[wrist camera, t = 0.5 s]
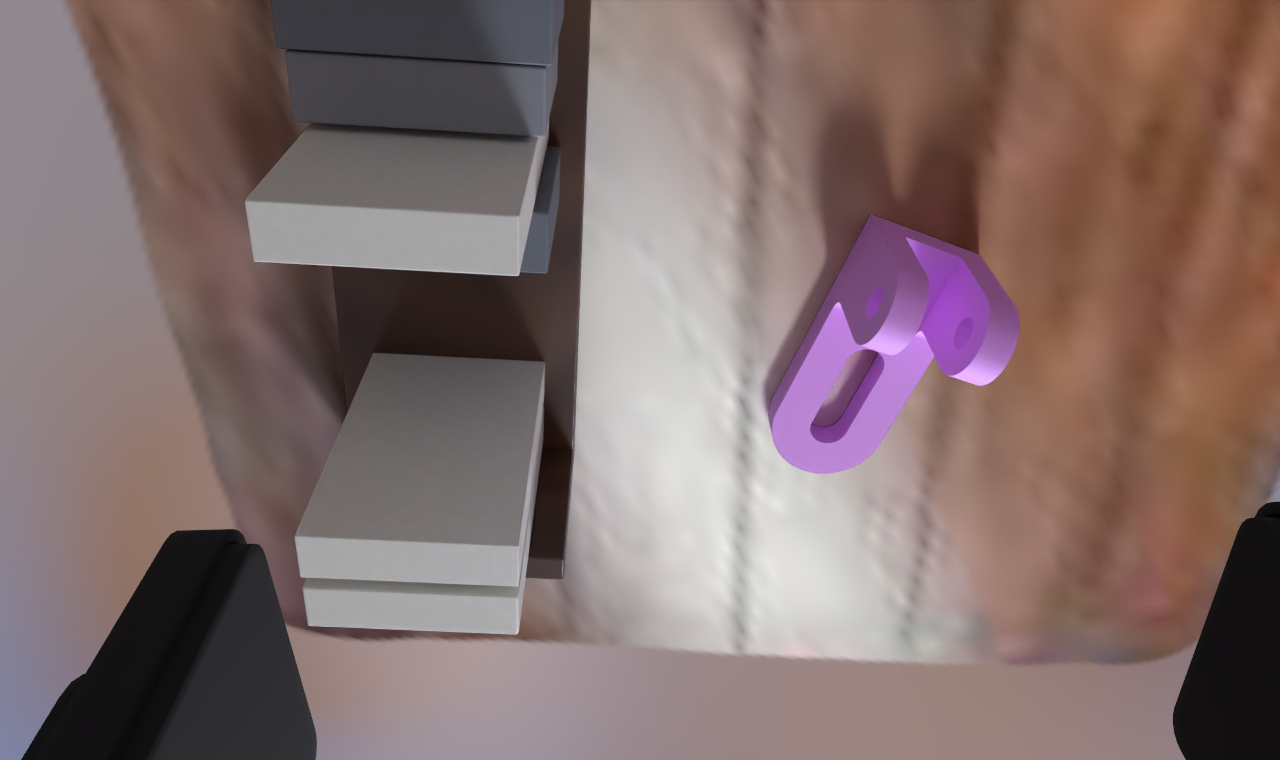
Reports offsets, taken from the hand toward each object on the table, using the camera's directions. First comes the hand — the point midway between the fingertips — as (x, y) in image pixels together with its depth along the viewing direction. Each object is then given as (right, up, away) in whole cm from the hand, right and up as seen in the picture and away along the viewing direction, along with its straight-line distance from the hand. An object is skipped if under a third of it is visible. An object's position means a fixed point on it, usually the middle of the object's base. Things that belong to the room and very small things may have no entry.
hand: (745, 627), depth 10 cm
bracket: (+10, +4, +39) cm, 40 cm away
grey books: (-9, +15, +30) cm, 35 cm away
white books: (-10, +2, +39) cm, 40 cm away
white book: (-9, +14, +31) cm, 35 cm away
